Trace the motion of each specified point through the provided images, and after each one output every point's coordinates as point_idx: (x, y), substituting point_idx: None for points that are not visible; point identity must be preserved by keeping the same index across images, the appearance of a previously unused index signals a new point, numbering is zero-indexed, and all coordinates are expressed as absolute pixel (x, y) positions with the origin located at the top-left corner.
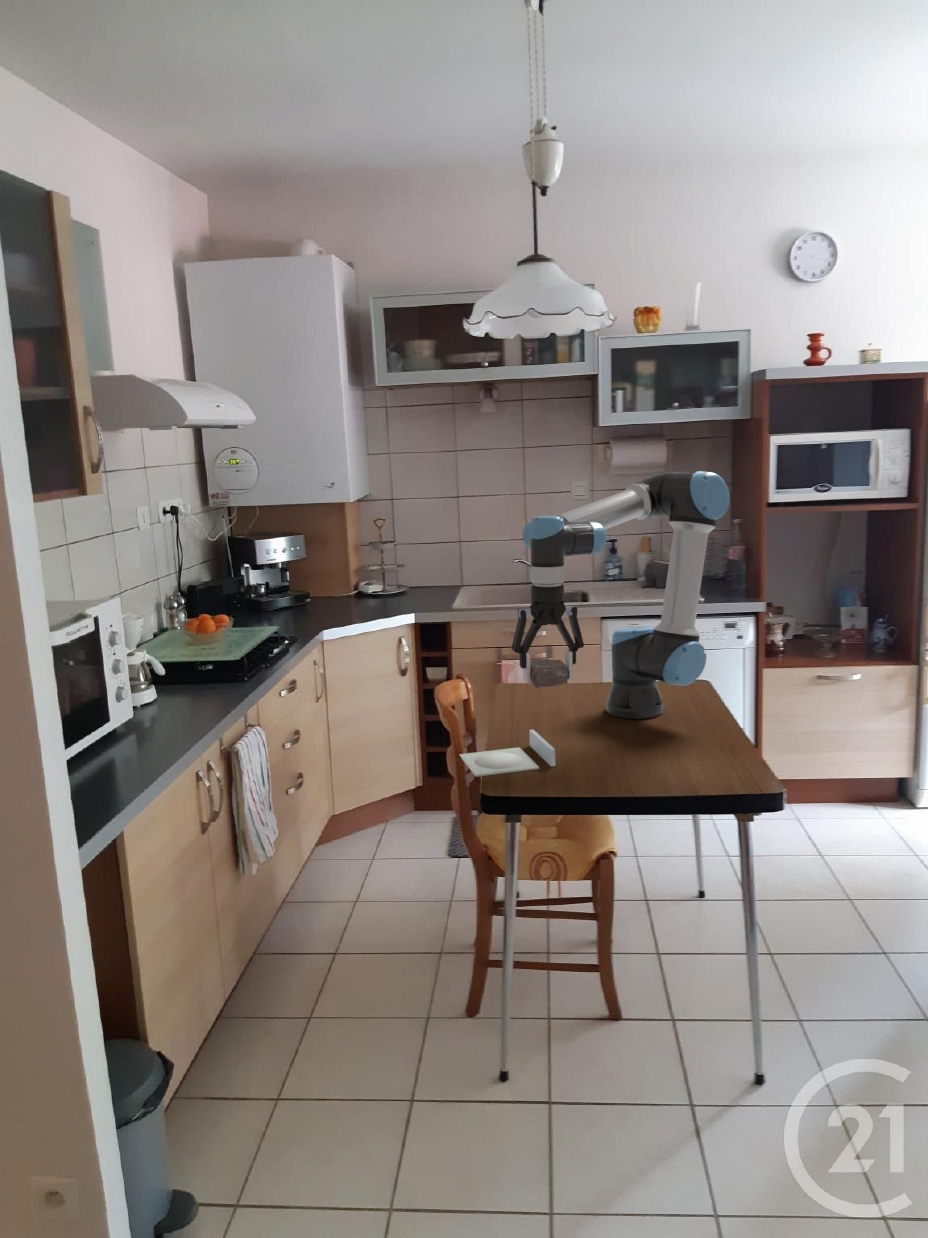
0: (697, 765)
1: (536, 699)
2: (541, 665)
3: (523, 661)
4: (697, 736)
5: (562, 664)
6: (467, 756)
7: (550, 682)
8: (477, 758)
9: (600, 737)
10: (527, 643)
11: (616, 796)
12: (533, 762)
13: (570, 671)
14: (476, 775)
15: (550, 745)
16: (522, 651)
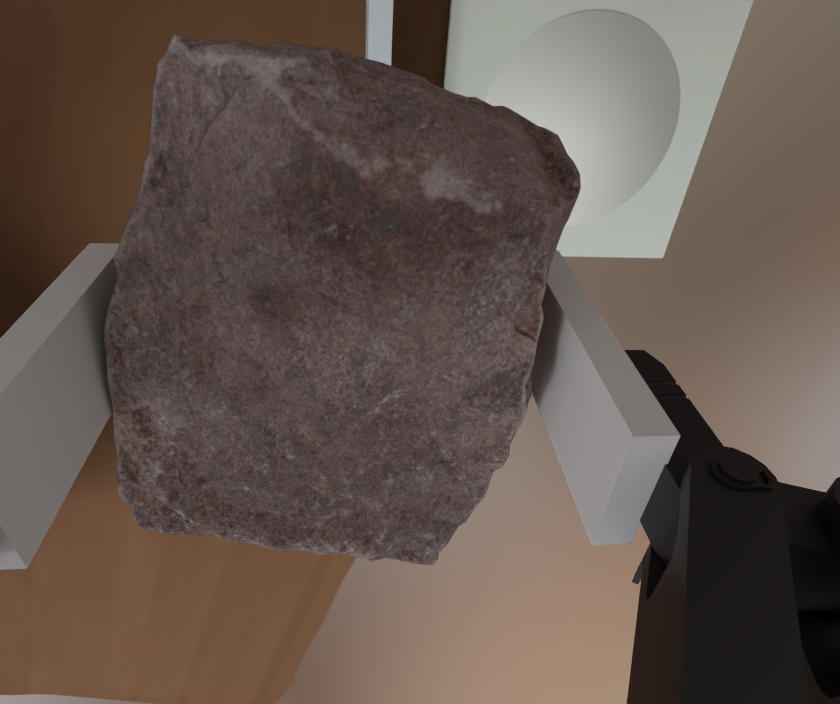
0: None
1: (221, 626)
2: (389, 412)
3: (665, 400)
4: None
5: (139, 432)
6: (652, 225)
7: (394, 73)
8: (637, 184)
9: (59, 270)
10: (775, 611)
11: None
12: (454, 36)
13: (77, 282)
14: None
15: (370, 36)
16: (779, 486)
